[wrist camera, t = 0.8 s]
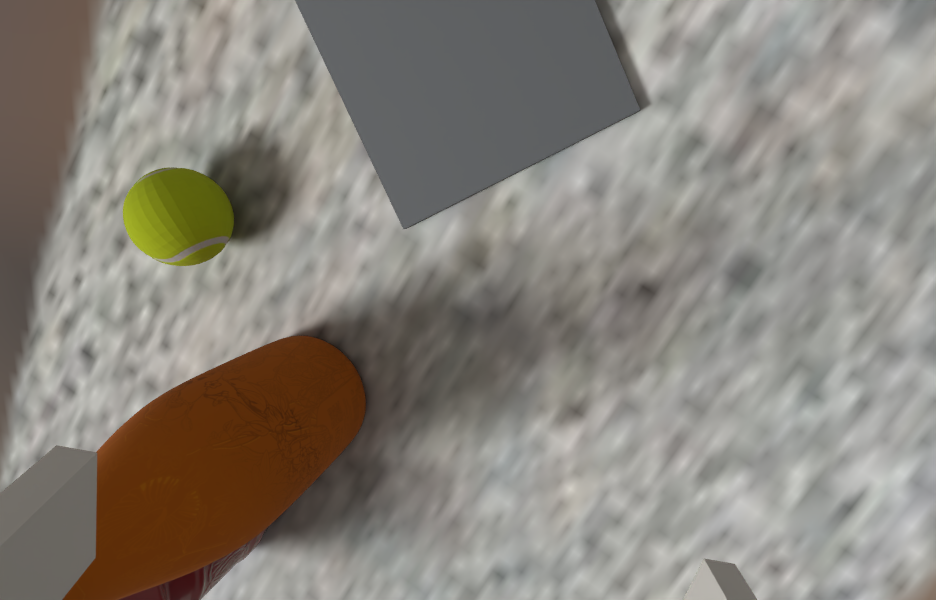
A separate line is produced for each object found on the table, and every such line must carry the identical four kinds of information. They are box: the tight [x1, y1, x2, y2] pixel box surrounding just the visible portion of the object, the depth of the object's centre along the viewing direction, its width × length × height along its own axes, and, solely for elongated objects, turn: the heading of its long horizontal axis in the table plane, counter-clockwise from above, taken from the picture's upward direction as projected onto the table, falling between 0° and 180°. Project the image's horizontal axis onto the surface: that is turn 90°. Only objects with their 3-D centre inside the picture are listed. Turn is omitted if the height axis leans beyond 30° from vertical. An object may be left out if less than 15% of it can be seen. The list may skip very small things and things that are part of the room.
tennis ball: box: [123, 168, 234, 266], centre depth 36 cm, size 7×7×7 cm
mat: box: [295, 0, 640, 229], centre depth 31 cm, size 16×16×1 cm
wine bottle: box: [62, 336, 366, 600], centre depth 26 cm, size 10×10×30 cm
